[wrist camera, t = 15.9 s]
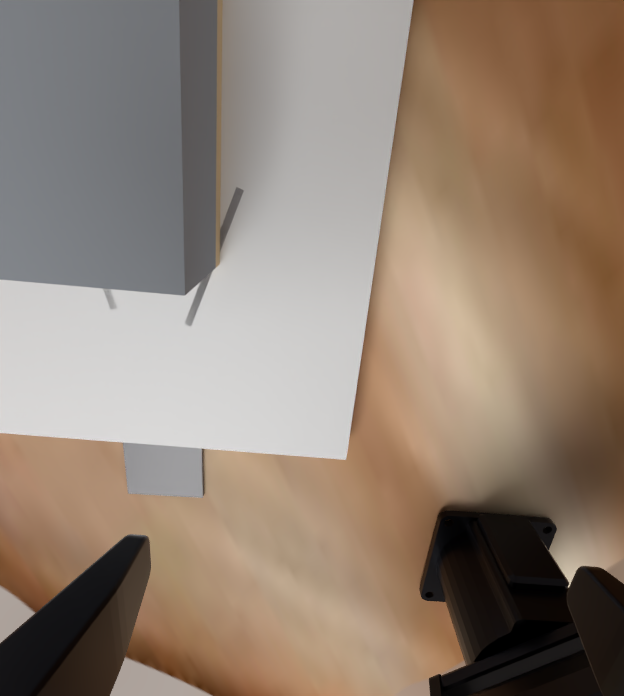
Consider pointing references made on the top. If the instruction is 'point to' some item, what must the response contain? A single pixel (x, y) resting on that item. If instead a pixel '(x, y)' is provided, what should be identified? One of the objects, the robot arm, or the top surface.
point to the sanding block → (110, 142)
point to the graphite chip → (164, 470)
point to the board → (240, 260)
